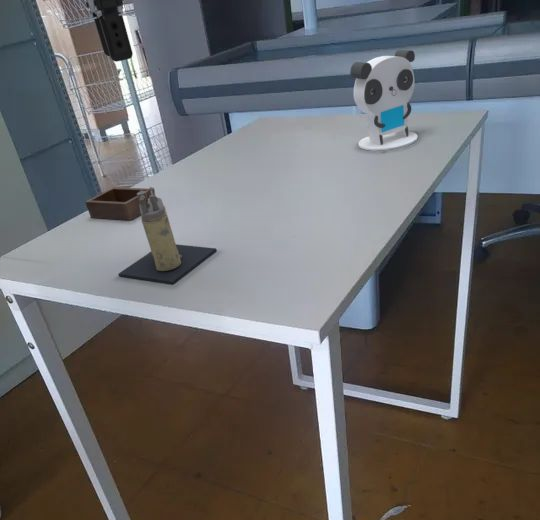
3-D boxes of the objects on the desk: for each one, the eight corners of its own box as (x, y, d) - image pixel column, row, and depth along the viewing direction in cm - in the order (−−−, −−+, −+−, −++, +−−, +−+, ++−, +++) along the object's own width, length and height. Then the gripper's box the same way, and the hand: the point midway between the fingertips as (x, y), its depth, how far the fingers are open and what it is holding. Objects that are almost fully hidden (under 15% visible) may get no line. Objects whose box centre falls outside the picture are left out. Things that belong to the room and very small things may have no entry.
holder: (131, 220, 94) (125, 204, 93) (90, 217, 99) (84, 201, 98) (157, 204, 99) (152, 188, 97) (117, 202, 104) (112, 187, 102)
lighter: (154, 254, 79) (132, 187, 73) (179, 248, 80) (160, 180, 74) (157, 274, 73) (134, 202, 68) (185, 267, 74) (164, 195, 68)
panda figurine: (376, 155, 101) (372, 65, 92) (344, 145, 110) (337, 62, 101) (430, 138, 104) (430, 49, 96) (394, 129, 113) (391, 47, 104)
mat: (173, 284, 71) (172, 281, 71) (118, 276, 76) (117, 273, 76) (216, 250, 78) (216, 248, 77) (164, 245, 83) (163, 242, 82)
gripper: (22, -122, 54) (81, 60, 64) (14, -158, 43) (87, 70, 52) (96, -133, 56) (143, 46, 65) (108, -172, 44) (163, 53, 54)
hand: (118, 57), depth 59 cm, fingers open, 8 cm apart
